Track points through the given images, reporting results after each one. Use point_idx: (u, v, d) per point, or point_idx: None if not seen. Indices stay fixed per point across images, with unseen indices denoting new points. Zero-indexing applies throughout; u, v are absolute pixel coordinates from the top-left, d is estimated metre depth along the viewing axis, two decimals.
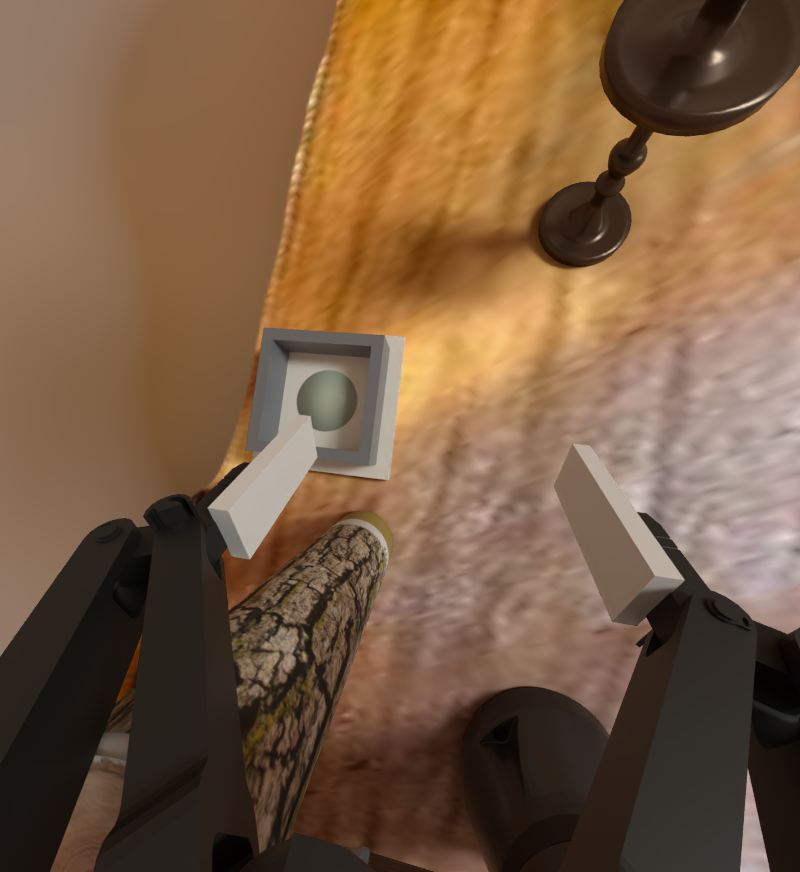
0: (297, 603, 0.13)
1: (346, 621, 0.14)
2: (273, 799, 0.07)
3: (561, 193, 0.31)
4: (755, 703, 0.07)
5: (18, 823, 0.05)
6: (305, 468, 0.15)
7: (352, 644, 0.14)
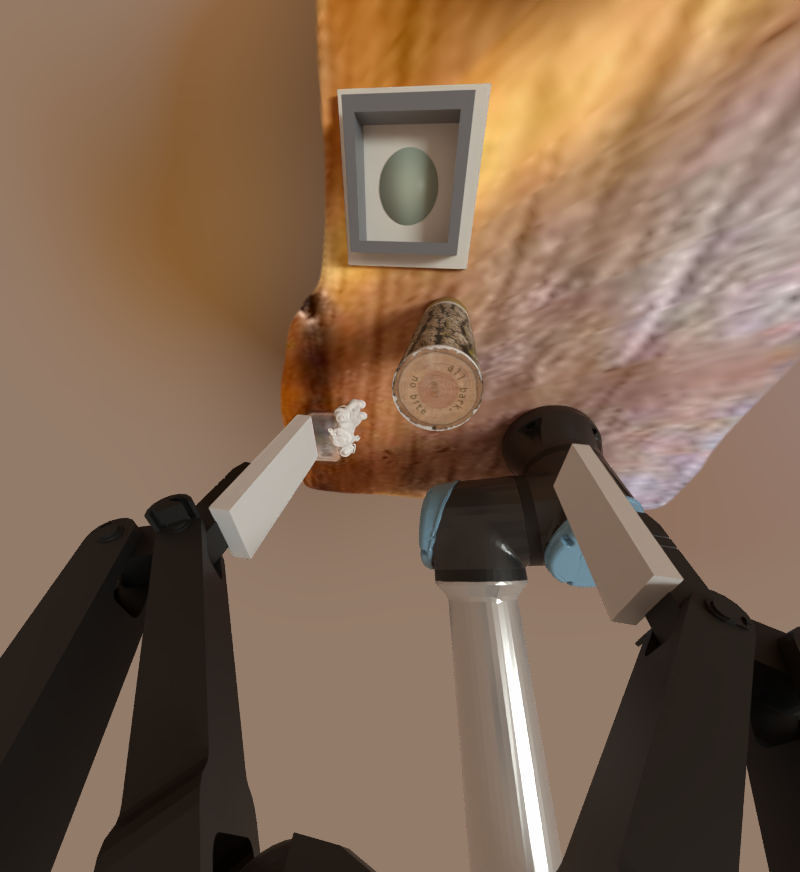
0: (453, 327, 0.25)
1: (473, 340, 0.27)
2: (480, 370, 0.21)
3: None
4: (754, 702, 0.07)
5: (19, 822, 0.05)
6: (305, 468, 0.15)
7: None
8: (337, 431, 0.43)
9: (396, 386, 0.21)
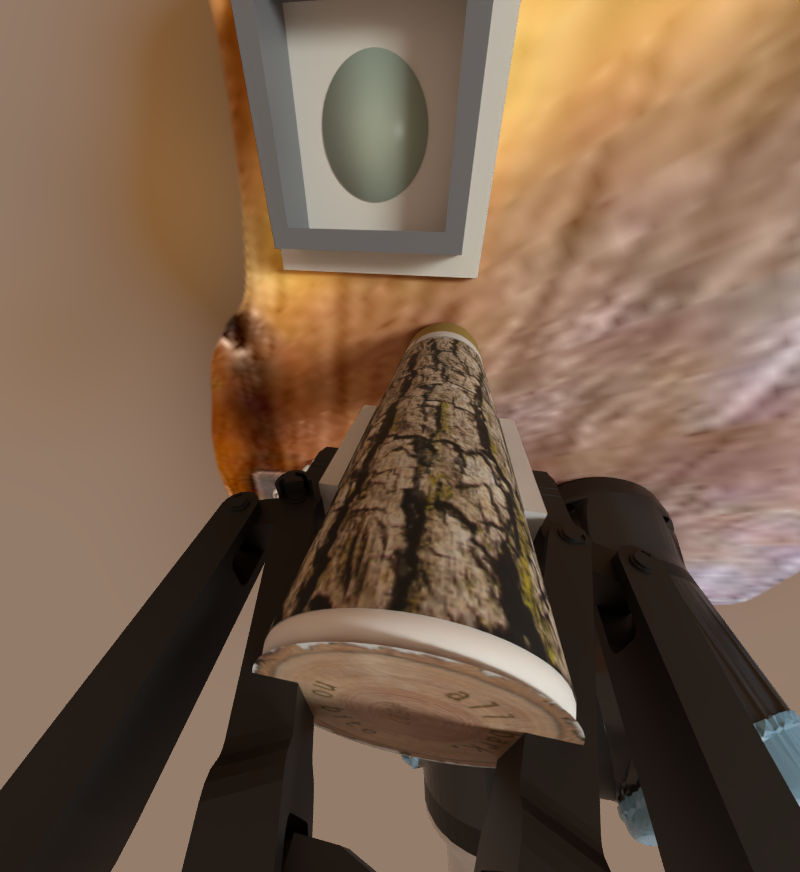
0: (459, 427, 0.10)
1: (503, 441, 0.12)
2: None
3: None
4: (605, 616, 0.09)
5: (135, 753, 0.06)
6: None
7: None
8: None
9: None
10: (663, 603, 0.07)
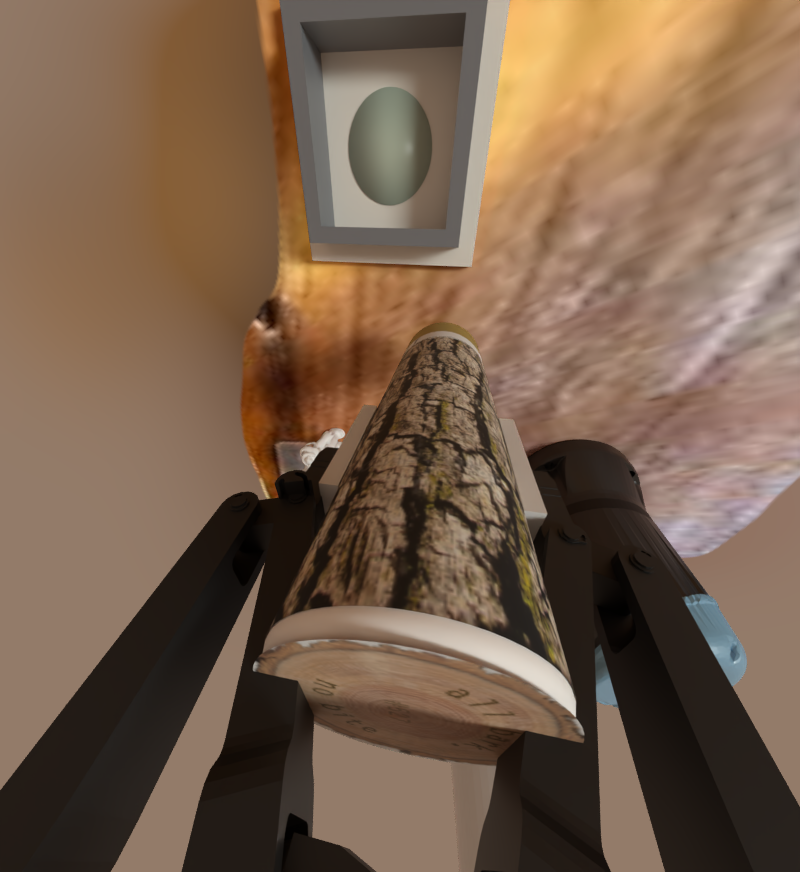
0: (459, 426, 0.10)
1: (503, 441, 0.12)
2: None
3: None
4: (605, 616, 0.09)
5: (135, 753, 0.06)
6: None
7: None
8: None
9: None
10: (663, 604, 0.07)
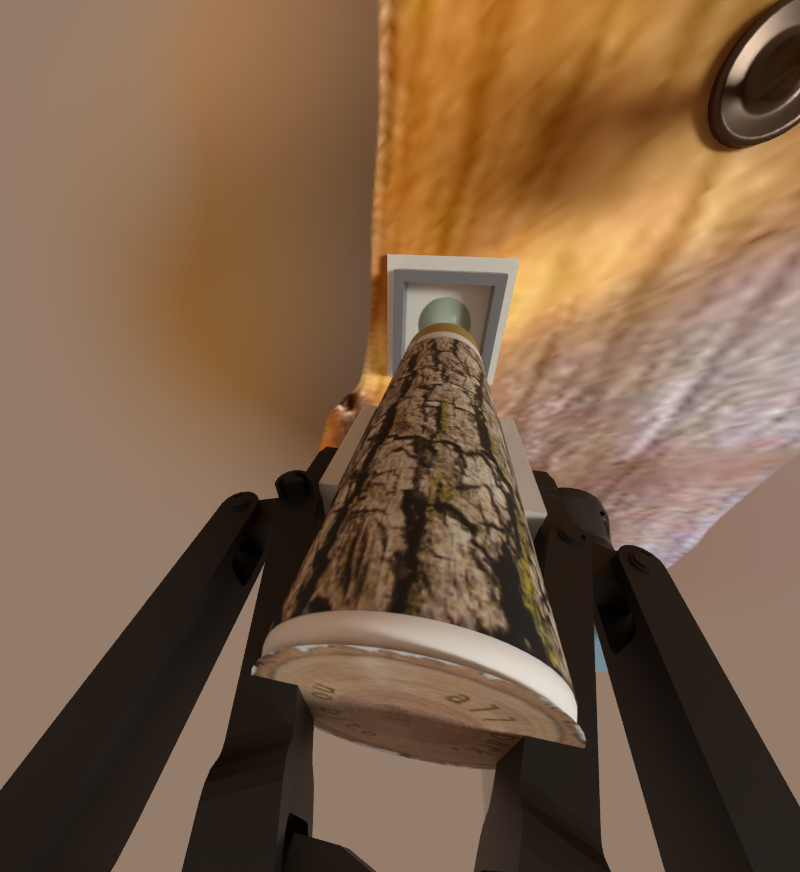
0: (460, 427, 0.10)
1: (503, 442, 0.12)
2: (558, 637, 0.06)
3: (775, 8, 0.22)
4: (605, 616, 0.09)
5: (135, 753, 0.06)
6: None
7: None
8: None
9: None
10: (663, 604, 0.07)
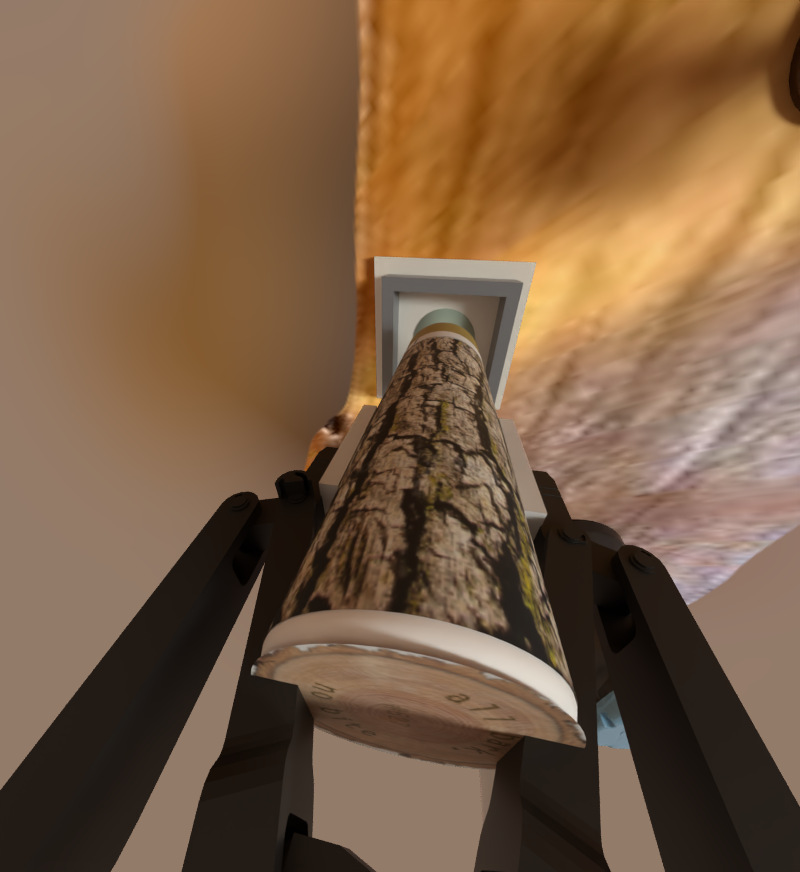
0: (459, 427, 0.10)
1: (503, 441, 0.12)
2: None
3: None
4: (605, 616, 0.09)
5: (135, 754, 0.06)
6: None
7: None
8: None
9: None
10: (663, 603, 0.07)
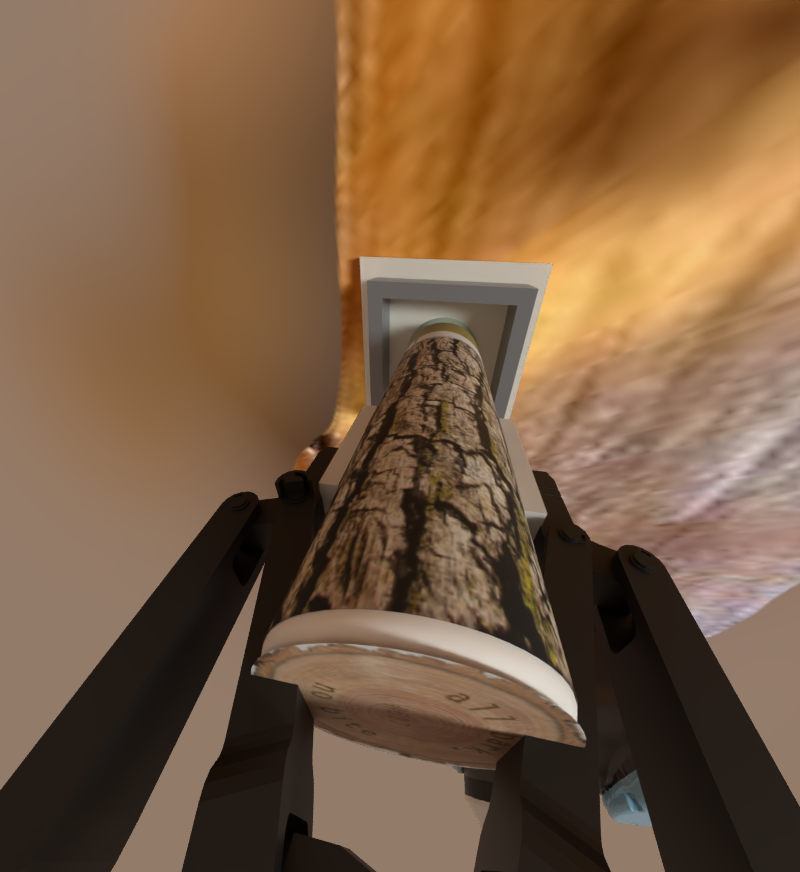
0: (459, 427, 0.10)
1: (503, 441, 0.12)
2: None
3: None
4: (605, 616, 0.09)
5: (135, 753, 0.06)
6: None
7: None
8: None
9: None
10: (663, 603, 0.07)
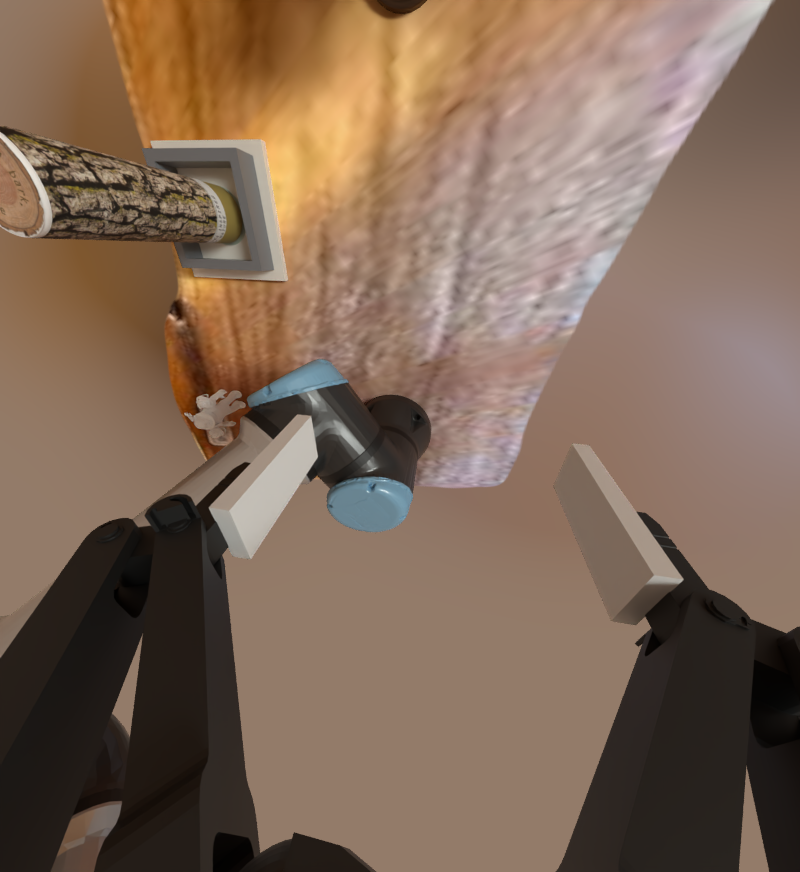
0: None
1: (126, 174, 0.26)
2: (41, 159, 0.21)
3: None
4: (754, 702, 0.07)
5: (19, 822, 0.05)
6: (305, 468, 0.15)
7: (136, 189, 0.27)
8: (198, 416, 0.51)
9: None
10: None
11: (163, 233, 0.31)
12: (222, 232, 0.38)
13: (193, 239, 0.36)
